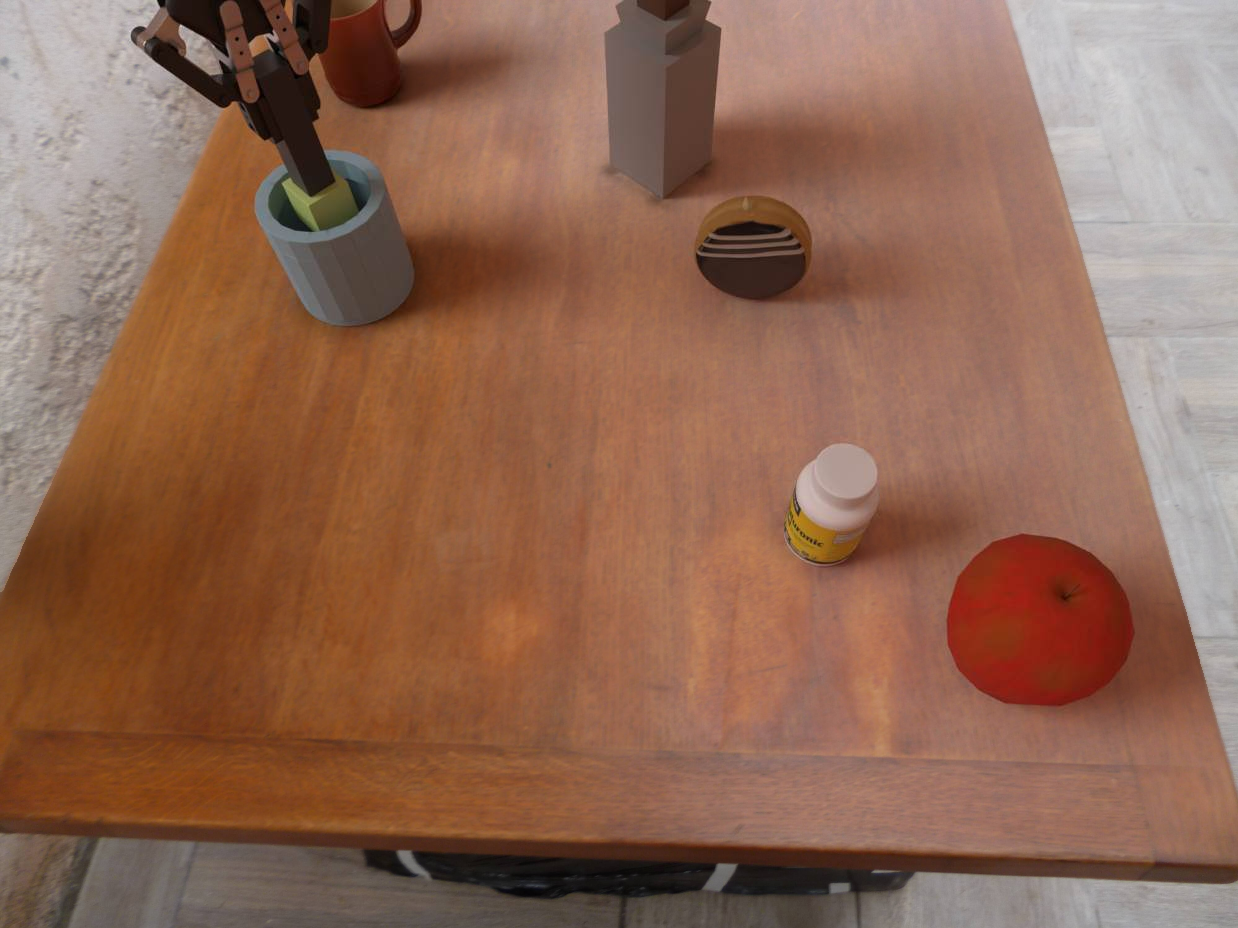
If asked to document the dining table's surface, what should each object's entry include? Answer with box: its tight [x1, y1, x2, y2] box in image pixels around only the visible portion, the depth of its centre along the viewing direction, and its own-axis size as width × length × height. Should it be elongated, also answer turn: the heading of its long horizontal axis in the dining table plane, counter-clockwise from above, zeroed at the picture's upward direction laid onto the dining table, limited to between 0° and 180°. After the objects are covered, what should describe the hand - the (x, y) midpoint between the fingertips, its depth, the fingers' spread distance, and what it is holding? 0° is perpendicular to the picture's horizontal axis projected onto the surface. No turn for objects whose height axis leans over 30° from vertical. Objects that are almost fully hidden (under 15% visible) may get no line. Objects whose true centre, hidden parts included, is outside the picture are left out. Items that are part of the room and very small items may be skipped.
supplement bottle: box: [782, 442, 880, 567], centre depth 57 cm, size 5×5×10 cm
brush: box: [252, 48, 359, 232], centre depth 62 cm, size 4×4×14 cm
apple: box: [946, 533, 1136, 707], centre depth 52 cm, size 10×10×12 cm
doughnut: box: [693, 195, 813, 300], centre depth 69 cm, size 9×4×10 cm, turn 79°
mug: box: [290, 0, 423, 108], centre depth 83 cm, size 12×9×10 cm
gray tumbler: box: [254, 149, 416, 327], centre depth 70 cm, size 10×10×10 cm
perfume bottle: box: [603, 0, 722, 199], centre depth 73 cm, size 7×7×18 cm
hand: (289, 126), depth 60 cm, fingers closed on brush, 2 cm apart
